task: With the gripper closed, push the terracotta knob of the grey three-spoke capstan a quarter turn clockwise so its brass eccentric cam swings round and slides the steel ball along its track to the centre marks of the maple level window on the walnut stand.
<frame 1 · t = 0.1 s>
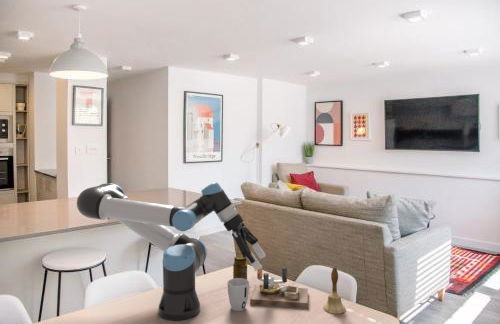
hand: (261, 263, 153), 15 cm above the table, tool tilted 35°, fingers open, 13 cm apart
cup: (238, 308, 148), on the table
capstan: (272, 280, 156), point 7 cm above the table, hinge at 100.0°
hand bell: (334, 309, 148), on the table
ball: (282, 289, 156), point 4 cm above the table, slide at 0.0 cm
condiment: (240, 285, 170), on the table
stand: (279, 298, 156), on the table
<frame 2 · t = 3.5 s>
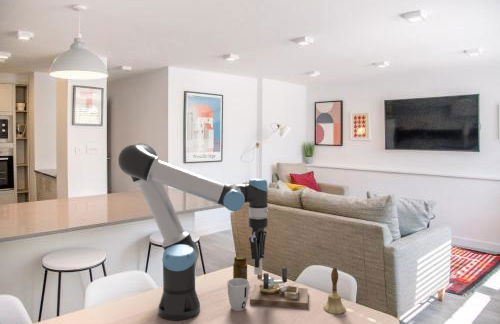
hand: (258, 274, 159), 9 cm above the table, tool pointing down, fingers closed
capstan: (272, 280, 156), point 7 cm above the table, hinge at 100.0°, touching gripper
everything else where it was.
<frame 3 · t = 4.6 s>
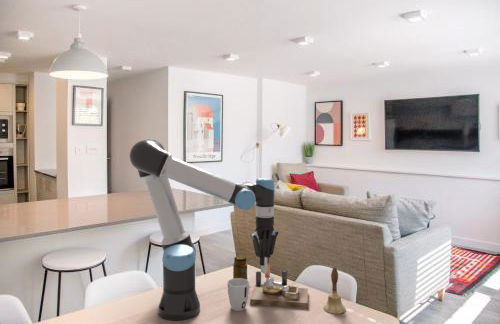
hand: (264, 272, 162), 9 cm above the table, tool pointing down, fingers closed
capstan: (271, 281, 156), point 7 cm above the table, hinge at 66.0°, touching gripper
ball: (285, 289, 156), point 4 cm above the table, slide at 0.9 cm
everything else where it was.
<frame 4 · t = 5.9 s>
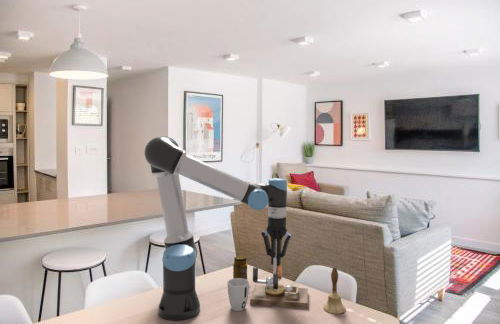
hand: (275, 272, 161), 8 cm above the table, tool pointing down, fingers closed
capstan: (269, 281, 155), point 7 cm above the table, hinge at 15.9°, touching gripper
ball: (288, 289, 156), point 4 cm above the table, slide at 2.3 cm
everything else where it was.
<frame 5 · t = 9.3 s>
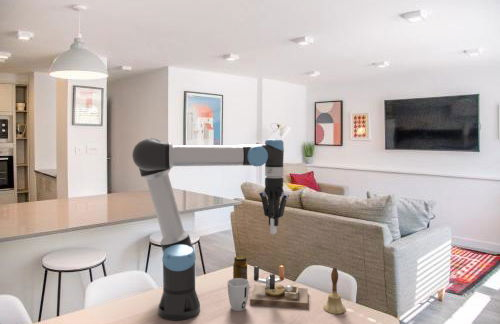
hand: (273, 233, 163), 24 cm above the table, tool pointing down, fingers closed
capstan: (269, 281, 156), point 7 cm above the table, hinge at 3.2°
everything else where it was.
at the end: capstan at +3° (first picture: +100°); ball slide at 2.4 cm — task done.
